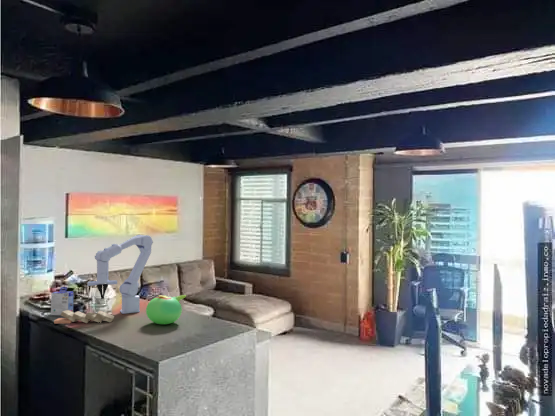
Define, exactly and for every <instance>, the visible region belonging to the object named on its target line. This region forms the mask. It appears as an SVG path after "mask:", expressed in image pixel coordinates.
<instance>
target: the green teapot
mask: <svg viewBox="0 0 555 416" xmlns="http://www.w3.org/2000/svg"><path fill="white" fill-rule="evenodd" d="M186 297H187V295H186V294H181V295H178V296H170V295H166V294H164V295H159V294H158V295H157V296H156V297H153V298H152V299H151V300H150V301H149V302H148V303H147V305H146V309H145V312H146V316H147V319H149V320H150V321H151V322H152V323H154V324H157V325H170V324H173V323H175V322H176V321H178V320H179V319H180V317H181V315H182V313H183V308H182V304H181V303H180V301H182V300H183V299H185V298H186Z"/></svg>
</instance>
